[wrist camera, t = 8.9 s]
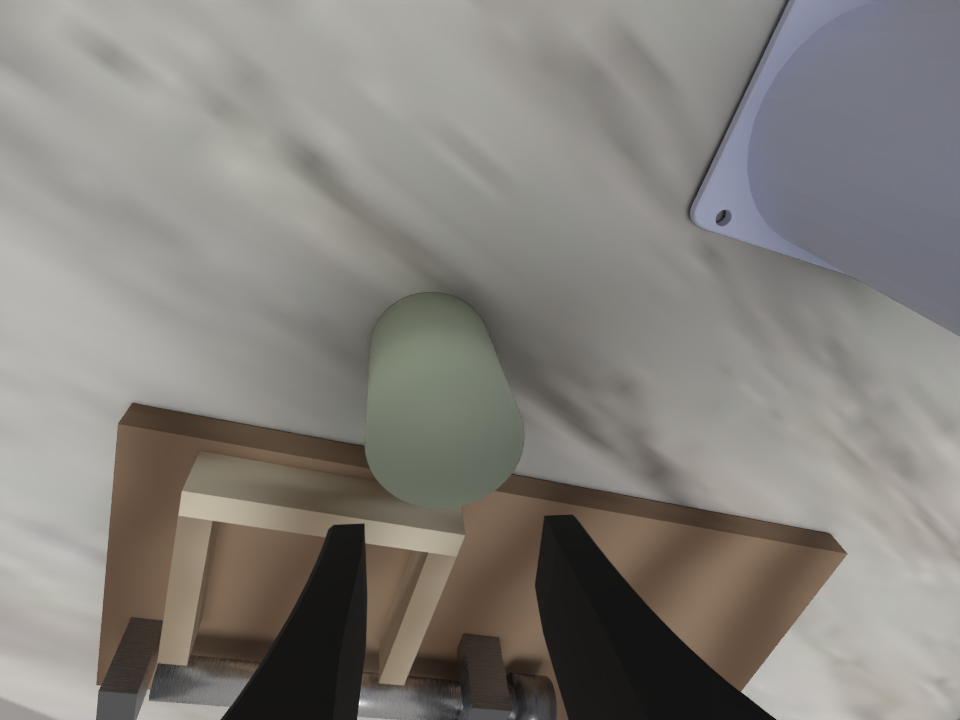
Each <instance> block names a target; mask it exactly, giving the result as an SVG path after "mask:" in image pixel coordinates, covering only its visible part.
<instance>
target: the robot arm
mask: <svg viewBox="0 0 960 720" xmlns="http://www.w3.org/2000/svg"><path fill="white" fill-rule="evenodd" d="M722 210H725V211H726V215H725V218H724V219H723V220H722V221H720V222H718V223H716V221H715V219H716V215H717V214H718V213H719V212H720V211H722ZM690 218H691V220H692V221H693V223H694V224H696V225H697V226H699V227H701V228H703V229H706V230H709V231H712V232H715V233H718V234H722V235H725V236H728V237H731V238H734V239H737V240H740V241H743V242H746V243H750V244H753V245H756V246H759V247H762V248H765V249H768V250H771V251H775V252H778V253H781V254H784V255H787V256H790V257H793V258H796V259H800V260H803V261H806V262H809V263H812V264H815V265H818V266H821V267H824V268H828V269H831V270H834V271H837V272H840V273H843V274H846V275H849V276H852V277H854V278H855V279H857V280H859V281H861V282H863V283H864V284H866V285H868V286H870V287H872V288H873V289H875V290H877V291H879V292H881V293H882V294H884V295H886V296H888V297H890V298H891V299H893V300H895V301H897V302H899V303H900V304H902V305H904V306H906V307H908V308H909V309H911V310H913V311H915V312H917V313H918V314H920V315H922V316H924V317H926V318H928V319H929V320H931V321H933V322H935V323H937V324H938V325H940V326H942V327H944V328H946V329H947V330H949V331H951V332H953V333H955V334H956V335H958V336H960V0H789V2H788V4H787V6H786V8H785V10H784V12H783V15H782V17H781V19H780V21H779V23H778V25H777V27H776V29H775V31H774V34H773V36H772V38H771V40H770V42H769V44H768V46H767V48H766V50H765V52H764V55H763V57H762V59H761V61H760V63H759V65H758V67H757V69H756V71H755V74H754V76H753V78H752V80H751V82H750V84H749V86H748V88H747V90H746V93H745V95H744V97H743V99H742V101H741V103H740V105H739V107H738V109H737V112H736V114H735V116H734V118H733V120H732V122H731V124H730V126H729V128H728V130H727V133H726V135H725V137H724V139H723V141H722V143H721V145H720V147H719V149H718V152H717V154H716V156H715V158H714V160H713V162H712V164H711V166H710V168H709V171H708V173H707V175H706V177H705V179H704V181H703V183H702V185H701V187H700V190H699V192H698V194H697V196H696V198H695V200H694V202H693V204H692V207H691V210H690ZM535 590H536V596H537V602H538V608H539V614H540V619H541V625H542V630H543V635H544V638H545V642H546V645H547V649H548V652H549V656H550V659H551V662H552V666H553V669H554V673H555V676H556V679H557V683H558V686H559V689H560V693H561V696H562V699H563V703H564V706H565V710H566V713H567V716H568V720H776V719H775V718H774V717H772V716H771V715H770V714H768V713H767V712H766V711H764V710H763V709H762V708H761V707H759V706H758V705H757V704H755V703H754V702H753V701H752V700H750V699H749V698H748V697H746V696H745V695H744V694H743V693H741V692H740V691H739V690H738V689H736V688H735V687H734V686H732V685H731V684H730V683H729V682H728V681H726V680H725V679H724V678H723V677H722V676H721V675H719V674H718V673H717V672H716V671H715V670H714V669H712V668H711V667H710V666H709V665H708V664H707V663H706V662H705V661H703V660H702V659H701V658H700V657H699V656H698V655H697V654H696V653H695V652H694V651H693V650H691V649H690V648H689V647H688V646H687V645H686V644H685V643H684V642H683V641H682V640H681V639H680V638H679V637H678V636H677V635H676V634H675V633H674V632H673V631H672V630H671V629H670V628H669V627H668V626H667V625H666V624H665V623H664V622H663V621H662V620H661V619H660V618H659V617H658V615H657V614H656V613H655V612H654V611H653V610H652V609H651V608H650V607H649V606H648V605H647V604H646V603H645V601H644V600H643V599H642V598H641V597H640V596H639V595H638V594H637V592H636V591H635V590H634V589H633V588H632V587H631V586H630V584H629V583H628V582H627V581H626V580H625V579H624V577H623V576H622V575H621V574H620V573H619V572H618V570H617V569H616V568H615V567H614V566H613V564H612V563H611V562H610V561H609V559H608V558H607V557H606V556H605V554H604V553H603V552H602V551H601V549H600V548H599V547H598V545H597V544H596V543H595V542H594V540H593V539H592V538H591V536H590V535H589V534H588V533H587V531H586V530H585V529H584V527H583V526H582V525H581V523H580V522H579V521H578V519H577V518H576V517H575V516H574V515H573V514H571V515H548V516H544V521H543V529H542V536H541V543H540V551H539V558H538V565H537V572H536V580H535ZM366 632H367V571H366V547H365V523H363V524H340V525H333V526H332V527H330V528H329V529H328V532H327V535H326V538H325V541H324V544H323V546H322V549H321V552H320V554H319V556H318V559H317V561H316V563H315V566H314V568H313V570H312V572H311V574H310V576H309V579H308V581H307V583H306V585H305V587H304V588H303V590H302V592H301V594H300V596H299V598H298V600H297V602H296V604H295V606H294V608H293V610H292V612H291V613H290V615H289V617H288V619H287V621H286V622H285V624H284V626H283V627H282V629H281V631H280V632H279V634H278V636H277V637H276V639H275V641H274V642H273V644H272V646H271V647H270V649H269V651H268V652H267V654H266V656H265V657H264V659H263V660H262V662H261V663H260V665H259V666H258V668H257V670H256V671H255V673H254V674H253V676H252V677H251V678H250V680H249V681H248V683H247V684H246V686H245V687H244V689H243V690H242V691H241V693H240V694H239V696H238V697H237V699H236V700H235V701H234V703H233V704H232V705H231V707H230V708H229V709H228V711H227V712H226V713H225V715H224V716H223V717H222V719H221V720H357V715H358V707H359V699H360V691H361V683H362V675H363V667H364V659H365V651H366Z"/></svg>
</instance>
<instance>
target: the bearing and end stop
mask: <svg viewBox="0 0 960 720" xmlns="http://www.w3.org/2000/svg"><path fill="white" fill-rule="evenodd" d="M162 625H163V620H155V619H145V618H136V617H131V619H130V621H129V623H128V626H127V628H126V630H125V632H124V635H123V637H122V639H121V641H120V644H119V646H118V648H117V651H116V653H115V655H114V657H113V660H112V662H111V664H110V667H109V669H108V671H107V673H106V676H105V678H104V680H103V682H102V685H101V687H100V689H99V693H98V704H97V716H96V720H136V719H137V716H138V714H139V711H140V708H141V705H142V703H143V700H144V697H145V695H146V692H147V689H148V686H149V684H150V681H151V678H152V676H153V673H154V670H155V667H156V665H157V660H158V653H159V646H160V639H161V632H162ZM457 655H458V665H459V675H460V685H461V694H462V704H463V710H462V712H461V714H460V716H459V718H458V720H508V718H509V716H510V714H511V712H512V709H511V703H510V697H509V691H508V685H507V680H506V674H505V668H504V662H503V657H502V651H501V645H500V639H499V637H493V636H485V635H476V634H467V633H464V634H463V636H462V638H461V640H460V643H459V645H458V647H457Z"/></svg>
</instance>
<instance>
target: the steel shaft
mask: <svg viewBox="0 0 960 720" xmlns="http://www.w3.org/2000/svg"><path fill="white" fill-rule="evenodd" d="M260 663H261V662H260V661H249V660H239V659H228V658H218V657H207V656H197V655H190V658H189V661H188V664H187V666H183V665H172V664H161V663H158V666H157V669H156V672H155V675H154V679H153V682H152V686H151V690H150V695H149V701H159V702H172V703H185V704H198V705H211V706H224V707H231V705H232V704H233V703H234V701H235V700H236V699H237V697H238V696H239V694H240V693H241V691H242V690H243V689H244V687H245V686H246V684H247V683H248V681H249V680H250V678H251V677H252V676H253V674H254V673H255V671H256V670H257V668H258V666H259V665H260ZM506 680H507V685H508V691H509V697H510V703H511V709H512V712H511V714H510V716H509V718H508V720H556V717H557V702H556V694H555V689H554V686H553V683H552V681H551V680H550V678H549V677H547V676H542V675H532V674H522V673H512V672H511V673H508V674H507V675H506ZM462 710H463V704H462V694H461V685H460V680H449V679H439V678H428V677H418V676H407V679H406V681H405V684H404V685H393V684H382V683H379V673H376V672H365V671H363V675H362V683H361V691H360V699H359V707H358V715H357V717H369V718H382V719H395V720H458V718H459V716H460V714H461V712H462Z"/></svg>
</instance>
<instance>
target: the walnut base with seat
mask: <svg viewBox="0 0 960 720" xmlns="http://www.w3.org/2000/svg"><path fill="white" fill-rule="evenodd" d="M571 514H573V515H574V516H575V517H576V518H577V519H578V521H579V522H580V523H581V525H582V526H583V527H584V529H585V530H586V531H587V533H588V534H589V535H590V536H591V538H592V539H593V540H594V542H595V543H596V544H597V545H598V547H599V548H600V549H601V551H602V552H603V553H604V554H605V556H606V557H607V558H608V559H609V561H610V562H611V563H612V564H613V566H614V567H615V568H616V569H617V570H618V572H619V573H620V574H621V575H622V576H623V577H624V579H625V580H626V581H627V582H628V583H629V584H630V586H631V587H632V588H633V589H634V590H635V591H636V592H637V594H638V595H639V596H640V597H641V598H642V599H643V600H644V601H645V603H646V604H647V605H648V606H649V607H650V608H651V609H652V610H653V611H654V612H655V613H656V614H657V615H658V617H659V618H660V619H661V620H662V621H663V622H664V623H665V624H666V625H667V626H668V627H669V628H670V629H671V630H672V631H673V632H674V633H675V634H676V635H677V636H678V637H679V638H680V639H681V640H682V641H683V642H684V643H685V644H686V645H687V646H688V647H689V648H690V649H691V650H693V651H694V652H695V653H696V654H697V655H698V656H699V657H700V658H701V659H702V660H703V661H705V662H706V663H707V664H708V665H709V666H710V667H711V668H712V669H714V670H715V671H716V672H717V673H718V674H719V675H721V676H722V677H723V678H724V679H725V680H726V681H728V682H729V683H730V684H731V685H732V686H734V687H735V688H736V689H738V690H739V691H740V692H741V691H742V690H743V688H744V687H745V686H746V684H747V683H748V682H749V680H750V679H751V678H752V677H753V675H754V674H755V673H756V671H757V670H758V669H759V668H760V666H761V665H762V664H763V662H764V661H765V660H766V659H767V657H768V656H769V655H770V653H771V652H772V651H773V649H774V648H775V647H776V646H777V644H778V643H779V642H780V640H781V639H782V638H783V637H784V635H785V634H786V633H787V631H788V630H789V629H790V627H791V626H792V625H793V624H794V622H795V621H796V620H797V618H798V617H799V616H800V615H801V613H802V612H803V611H804V609H805V608H806V607H807V606H808V604H809V603H810V602H811V600H812V599H813V598H814V596H815V595H816V594H817V593H818V591H819V590H820V589H821V587H822V586H823V585H824V584H825V582H826V581H827V580H828V578H829V577H830V576H831V574H832V573H833V572H834V571H835V569H836V568H837V567H838V565H839V564H840V563H841V562H842V560H843V559H844V558H845V556H846V555H847V553H846V552H845V550H844V549H843V548H842V547H841V546H840V545H839V543H838V542H837V541H836V540H835V539H834V538H833V536H832V535H831V534H828V533H823V532H817V531H812V530H807V529H801V528H796V527H790V526H785V525H780V524H774V523H769V522H764V521H758V520H753V519H748V518H742V517H737V516H732V515H726V514H721V513H716V512H710V511H705V510H699V509H694V508H689V507H683V506H678V505H673V504H667V503H662V502H657V501H651V500H646V499H641V498H635V497H630V496H624V495H619V494H614V493H608V492H603V491H598V490H592V489H587V488H582V487H576V486H571V485H566V484H560V483H555V482H550V481H544V480H539V479H533V478H528V477H523V476H517V475H512V474H511V475H510V476H509V478H508V479H507V480H506V481H505V482H504V483H503V484H502V485H501V486H500V487H498V488H497V489H496V490H495V491H493V492H492V493H490V494H489V495H487V496H486V497H484V498H482V499H480V500H478V501H475V502H473V503H470V504H467V505H463V506H459V507H454V508H443V509H437V508H426V507H420V506H416V505H413V504H410V503H407V502H405V501H403V500H401V499H399V498H397V497H395V496H394V495H392V494H391V493H390V492H388V491H387V490H386V489H385V488H384V487H383V486H382V485H381V484H380V483H379V482H378V481H377V479H376V478H375V477H374V475H373V473H372V471H371V470H370V467H369V465H368V462H367V458H366V454H365V447H362V446H357V445H351V444H346V443H341V442H335V441H330V440H325V439H319V438H314V437H309V436H303V435H298V434H293V433H287V432H282V431H276V430H271V429H266V428H260V427H255V426H250V425H244V424H239V423H234V422H228V421H223V420H218V419H212V418H207V417H202V416H196V415H191V414H185V413H180V412H175V411H169V410H164V409H159V408H153V407H148V406H143V405H137V404H131V406H130V407H129V409H128V410H127V412H126V413H125V415H124V416H123V417H122V419H121V420H120V422H119V423H118V431H117V443H116V455H115V467H114V479H113V492H112V504H111V516H110V528H109V540H108V552H107V564H106V576H105V588H104V600H103V612H102V624H101V636H100V648H99V660H98V672H97V684H96V685H102V682H103V680H104V678H105V676H106V673H107V671H108V669H109V667H110V664H111V662H112V660H113V657H114V655H115V653H116V651H117V648H118V646H119V644H120V641H121V639H122V637H123V635H124V632H125V630H126V628H127V626H128V623H129V621H130V619H131V617H136V618H145V619H155V620H163V625H162V632H161V639H160V646H159V653H158V660H157V665H156V667H155V670H154V673H153V676H152V678H151V681H150V684H149V686H148V689H151V686H152V682H153V679H154V675H155V672H156V669H157V666H158V663H161V664H172V665H183V666H187V664H188V661H189V658H190V655H197V656H207V657H218V658H228V659H239V660H249V661H260V662H262V660H263V659H264V657H265V656H266V654H267V652H268V651H269V649H270V647H271V646H272V644H273V642H274V641H275V639H276V637H277V636H278V634H279V632H280V631H281V629H282V627H283V626H284V624H285V622H286V621H287V619H288V617H289V615H290V613H291V612H292V610H293V608H294V606H295V604H296V602H297V600H298V598H299V596H300V594H301V592H302V590H303V588H304V587H305V585H306V583H307V581H308V579H309V576H310V574H311V572H312V570H313V568H314V566H315V563H316V561H317V559H318V556H319V554H320V552H321V549H322V546H323V544H324V541H325V538H326V535H327V532H328V529H329V528H330V527H332V526H333V525H340V524H363V523H365V547H366V571H367V632H366V651H365V659H364V667H363V671H365V672H376V673H379V683H382V684H393V685H404V684H405V681H406V679H407V676H418V677H428V678H439V679H449V680H460V675H459V665H458V655H457V647H458V645H459V643H460V640H461V638H462V636H463V634H464V633H467V634H476V635H485V636H493V637H499V639H500V645H501V651H502V657H503V662H504V668H505V674H506V675H507V674H508V673H511V672H512V673H522V674H532V675H542V676H547V677H549V678H550V680H551V681H552V683H553V686H554V689H555V694H556V702H557V717H556V720H568V716H567V713H566V710H565V706H564V703H563V699H562V696H561V693H560V689H559V686H558V683H557V679H556V676H555V673H554V669H553V666H552V662H551V659H550V656H549V652H548V649H547V645H546V642H545V638H544V635H543V630H542V625H541V619H540V614H539V608H538V602H537V596H536V590H535V580H536V572H537V565H538V558H539V551H540V543H541V536H542V529H543V521H544V516H548V515H571Z"/></svg>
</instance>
